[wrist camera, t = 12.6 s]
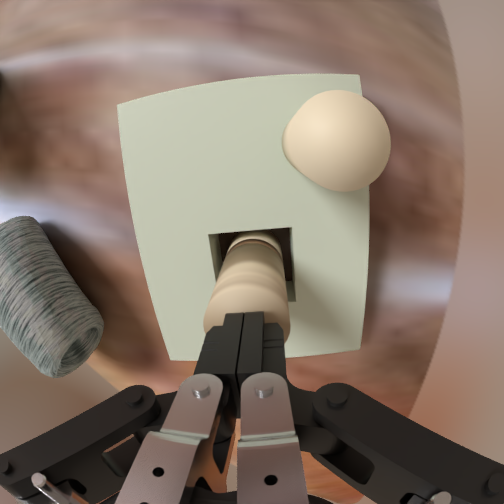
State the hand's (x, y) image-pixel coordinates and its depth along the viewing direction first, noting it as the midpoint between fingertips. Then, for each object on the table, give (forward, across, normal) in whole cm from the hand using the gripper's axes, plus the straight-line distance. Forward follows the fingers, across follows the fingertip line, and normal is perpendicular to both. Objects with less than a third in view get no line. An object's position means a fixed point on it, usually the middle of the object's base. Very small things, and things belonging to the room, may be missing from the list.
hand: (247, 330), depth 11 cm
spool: (+9, +18, +1) cm, 20 cm away
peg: (+9, 0, 0) cm, 9 cm away
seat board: (+9, 0, -2) cm, 9 cm away
